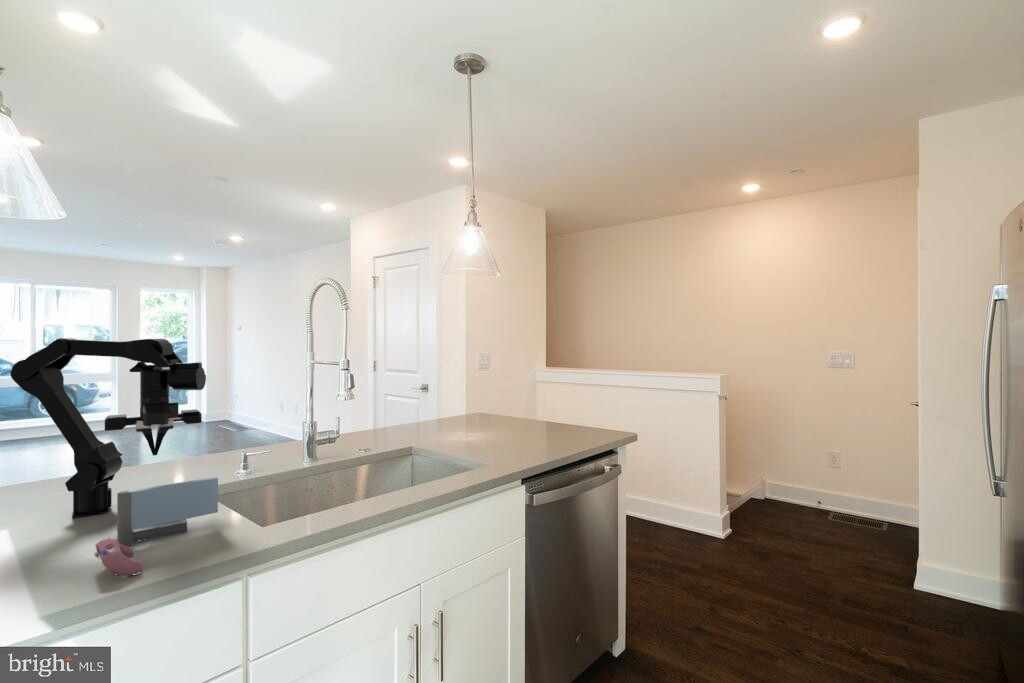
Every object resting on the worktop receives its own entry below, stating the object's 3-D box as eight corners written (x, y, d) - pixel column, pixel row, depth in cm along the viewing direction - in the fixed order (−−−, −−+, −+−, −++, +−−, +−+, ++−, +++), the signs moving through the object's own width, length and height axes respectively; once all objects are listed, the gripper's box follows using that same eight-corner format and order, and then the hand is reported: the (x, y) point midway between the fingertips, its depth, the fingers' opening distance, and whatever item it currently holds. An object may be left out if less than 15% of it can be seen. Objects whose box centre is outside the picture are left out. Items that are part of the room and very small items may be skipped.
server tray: (121, 544, 100) (122, 533, 100) (123, 517, 114) (123, 508, 114) (187, 531, 107) (187, 521, 107) (180, 507, 121) (180, 498, 121)
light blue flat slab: (117, 551, 97) (117, 495, 97) (116, 547, 99) (116, 492, 99) (218, 528, 109) (218, 478, 108) (215, 525, 110) (215, 476, 110)
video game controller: (108, 571, 92) (86, 542, 90) (135, 553, 95) (114, 525, 93) (117, 590, 85) (93, 560, 83) (146, 571, 88) (124, 541, 86)
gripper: (103, 396, 108) (103, 468, 108) (204, 391, 119) (203, 456, 120) (105, 391, 117) (105, 458, 117) (199, 387, 128) (198, 447, 128)
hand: (154, 455), depth 120 cm, fingers closed
